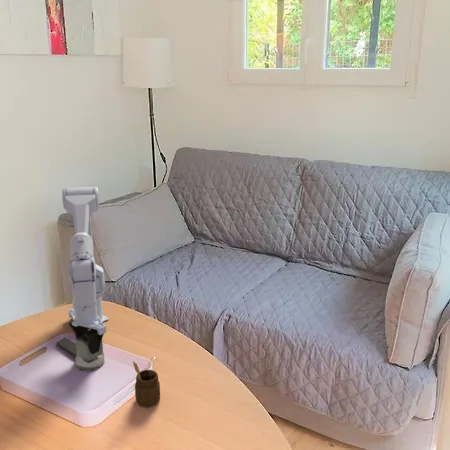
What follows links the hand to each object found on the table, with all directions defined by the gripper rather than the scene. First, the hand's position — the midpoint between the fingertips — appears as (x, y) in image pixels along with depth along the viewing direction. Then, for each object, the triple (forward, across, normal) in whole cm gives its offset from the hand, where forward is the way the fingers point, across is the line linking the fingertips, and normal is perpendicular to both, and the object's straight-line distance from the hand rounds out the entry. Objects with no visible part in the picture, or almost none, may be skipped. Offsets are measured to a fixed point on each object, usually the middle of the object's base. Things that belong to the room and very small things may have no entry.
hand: (89, 348), depth 137 cm
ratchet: (+4, -5, 0) cm, 7 cm away
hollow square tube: (+2, 0, 0) cm, 2 cm away
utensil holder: (+5, +24, 0) cm, 24 cm away
